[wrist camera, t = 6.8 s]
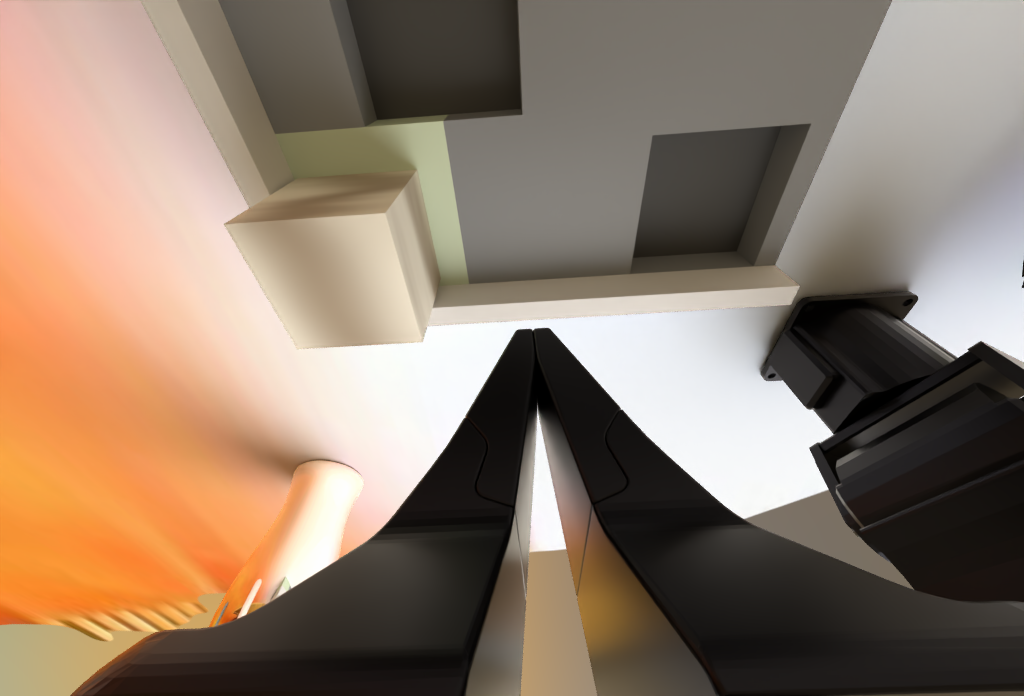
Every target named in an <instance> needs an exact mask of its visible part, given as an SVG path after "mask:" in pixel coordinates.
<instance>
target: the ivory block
mask: <svg viewBox="0 0 1024 696" xmlns="http://www.w3.org/2000/svg"><path fill="white" fill-rule="evenodd" d="M224 225H225V227H226V229H227V230H228V232H229V234H230V236H231V237H232V239H233V241H234V242H235V244H236V246H237V247H238V249H239V251H240V253H241V254H242V256H243V258H244V259H245V261H246V263H247V265H248V266H249V268H250V270H251V271H252V273H253V275H254V276H255V278H256V280H257V282H258V283H259V285H260V287H261V288H262V290H263V292H264V293H265V295H266V297H267V299H268V300H269V302H270V304H271V305H272V307H273V309H274V311H275V312H276V314H277V316H278V317H279V319H280V321H281V322H282V324H283V326H284V328H285V329H286V331H287V333H288V334H289V336H290V338H291V339H292V341H293V343H294V345H295V346H296V348H297V349H309V348H327V347H344V346H362V345H380V344H397V343H415V342H423V339H424V335H425V332H426V329H427V325H428V322H429V318H430V315H431V311H432V308H433V304H434V301H435V297H436V294H437V290H438V287H439V283H440V280H441V277H440V272H439V268H438V263H437V258H436V254H435V249H434V244H433V240H432V235H431V231H430V226H429V221H428V217H427V212H426V207H425V203H424V198H423V193H422V189H421V184H420V179H419V175H418V170H404V171H391V172H377V173H363V174H350V175H336V176H322V177H309V178H297V179H295V180H294V181H292V182H291V183H289V184H287V185H286V186H284V187H283V188H281V189H279V190H278V191H276V192H275V193H273V194H271V195H270V196H268V197H267V198H265V199H263V200H262V201H260V202H259V203H257V204H255V205H254V206H252V207H251V208H249V209H248V210H246V211H244V212H243V213H241V214H240V215H238V216H236V217H235V218H233V219H232V220H230V221H228V222H227V223H225V224H224Z"/></svg>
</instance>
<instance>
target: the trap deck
mask: <svg viewBox="0 0 1024 696" xmlns="http://www.w3.org/2000/svg"><path fill="white" fill-rule="evenodd" d="M140 1H141V3H142V5H143V6H144V8H145V10H146V12H147V14H148V16H149V18H150V20H151V22H152V24H153V25H154V27H155V29H156V31H157V33H158V35H159V37H160V39H161V41H162V43H163V44H164V46H165V48H166V50H167V52H168V54H169V56H170V58H171V60H172V62H173V64H174V65H175V67H176V69H177V71H178V73H179V75H180V77H181V79H182V81H183V83H184V84H185V86H186V88H187V90H188V92H189V94H190V96H191V98H192V100H193V102H194V103H195V105H196V107H197V109H198V111H199V113H200V115H201V117H202V119H203V121H204V123H205V124H206V126H207V128H208V130H209V132H210V134H211V136H212V138H213V140H214V142H215V143H216V145H217V147H218V149H219V151H220V153H221V155H222V157H223V159H224V161H225V162H226V164H227V166H228V168H229V170H230V172H231V174H232V176H233V178H234V180H235V182H236V183H237V185H238V187H239V189H240V191H241V193H242V195H243V197H244V199H245V201H246V202H247V204H248V206H249V208H251V207H252V206H254V205H255V204H257V203H259V202H260V201H262V200H263V199H265V198H267V197H268V196H270V195H271V194H273V193H275V192H276V191H278V190H279V189H281V188H283V187H284V186H286V185H287V184H289V183H291V182H292V181H294V180H295V179H297V178H309V177H322V176H336V175H350V174H363V173H377V172H391V171H404V170H418V175H419V179H420V184H421V189H422V193H423V198H424V203H425V207H426V212H427V217H428V221H429V226H430V231H431V235H432V240H433V244H434V249H435V254H436V258H437V263H438V268H439V272H440V277H441V280H440V283H439V287H438V290H437V294H436V297H435V301H434V304H433V308H432V311H431V315H430V318H429V322H428V325H427V326H437V325H454V324H472V323H489V322H506V321H523V320H540V319H558V318H575V317H592V316H609V315H627V314H644V313H661V312H678V311H696V310H713V309H730V308H747V307H765V306H782V305H791V303H792V301H793V299H794V297H795V295H796V293H797V291H798V289H799V288H800V285H798V284H797V283H796V282H795V281H793V280H792V279H791V278H790V277H789V276H787V275H786V274H785V273H784V272H782V271H781V270H780V269H779V268H778V267H776V266H775V263H776V261H777V259H778V257H779V254H780V252H781V250H782V248H783V245H784V243H785V241H786V239H787V236H788V234H789V232H790V229H791V227H792V225H793V223H794V220H795V218H796V216H797V214H798V211H799V209H800V207H801V205H802V202H803V200H804V198H805V196H806V193H807V191H808V189H809V187H810V184H811V182H812V180H813V178H814V175H815V173H816V171H817V169H818V166H819V164H820V162H821V160H822V157H823V155H824V153H825V151H826V148H827V146H828V144H829V142H830V139H831V137H832V135H833V133H834V130H835V128H836V126H837V123H838V121H839V119H840V117H841V114H842V112H843V110H844V108H845V105H846V103H847V101H848V99H849V96H850V94H851V92H852V90H853V87H854V85H855V83H856V81H857V78H858V76H859V74H860V72H861V69H862V67H863V65H864V63H865V60H866V58H867V56H868V54H869V51H870V49H871V47H872V45H873V42H874V40H875V38H876V36H877V33H878V31H879V29H880V27H881V24H882V22H883V20H884V18H885V15H886V13H887V11H888V8H889V6H890V4H891V2H892V0H140Z"/></svg>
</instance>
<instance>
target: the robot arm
mask: <svg viewBox="0 0 1024 696" xmlns="http://www.w3.org/2000/svg"><path fill="white" fill-rule="evenodd" d="M917 301H918V296H916V295H915V294H913V293H912V292H908V291H906V292H889V293H872V294H855V295H838V296H821V297H808V298H804V299H802V300H801V301H800V302H798V304H797V305H796V307H795V309H794V311H793V313H792V315H791V317H790V318H789V320H788V322H787V324H786V326H785V328H784V330H783V332H782V334H781V335H780V337H779V339H778V341H777V343H776V345H775V347H774V349H773V351H772V353H771V354H770V356H769V358H768V360H767V362H766V364H765V366H764V368H763V370H762V372H761V376H762V377H763V379H764V380H766V381H781V380H783V381H784V382H785V383H786V384H787V386H788V387H789V388H790V389H791V390H792V392H793V393H794V394H795V395H796V397H797V398H798V399H799V400H800V401H801V403H802V404H803V405H804V406H805V407H806V408H807V409H810V410H811V409H813V410H814V411H815V412H816V414H817V415H818V416H819V417H820V418H821V420H822V421H823V422H824V423H825V424H826V426H827V427H828V428H829V429H830V430H831V431H832V433H833V434H834V435H833V436H831V437H829V438H828V439H826V440H824V441H823V442H821V443H816V444H814V445H813V446H811V447H810V448H809V449H810V451H811V453H812V455H813V457H814V459H815V462H816V465H817V467H818V469H819V471H820V473H821V475H822V477H823V479H824V481H825V483H826V485H827V487H828V489H829V491H830V493H831V495H832V497H833V499H834V501H835V503H836V505H837V507H838V509H839V511H840V513H841V515H842V517H843V519H844V521H845V523H846V524H847V525H848V526H849V527H850V528H851V529H852V531H853V532H854V533H855V535H856V536H857V537H859V538H860V539H862V540H863V541H864V542H865V543H866V544H867V545H869V546H870V547H871V548H872V549H873V550H874V551H875V552H876V553H878V554H879V555H880V556H882V557H883V558H885V559H886V560H887V561H889V562H890V563H892V564H893V565H894V566H895V567H896V568H897V569H898V570H899V572H900V573H901V574H902V575H903V576H904V577H905V578H906V580H907V581H908V582H909V583H910V585H911V586H912V587H913V588H914V590H913V589H910V588H907V587H904V586H902V585H899V584H897V583H894V582H891V581H889V580H886V579H884V578H881V577H879V576H876V575H874V574H871V573H869V572H867V571H864V570H862V569H859V568H857V567H855V566H852V565H850V564H847V563H845V562H842V561H840V560H838V559H835V558H833V557H830V556H828V555H825V554H823V553H821V552H818V551H816V550H813V549H811V548H808V547H806V546H804V545H801V544H799V543H796V542H794V541H791V540H789V539H786V538H784V537H781V536H779V535H777V534H774V533H772V532H769V531H767V530H765V529H762V528H760V527H757V526H755V525H753V524H752V523H750V522H748V521H746V520H744V519H743V518H741V517H740V516H738V515H736V514H735V513H733V512H732V511H731V510H729V509H728V508H727V507H725V506H724V505H723V504H722V503H720V502H719V501H718V500H717V499H716V498H715V497H713V496H712V495H711V494H710V493H709V492H708V491H707V490H706V489H704V488H703V487H702V486H701V485H700V484H699V483H698V482H697V481H695V480H694V479H693V478H692V477H691V476H690V475H689V474H688V473H687V472H685V471H684V470H683V469H682V468H681V467H680V466H679V465H678V464H676V463H675V462H674V461H673V460H672V459H671V458H670V457H669V456H668V455H666V454H665V453H664V452H663V451H662V450H661V449H660V448H659V447H658V446H657V445H656V444H655V443H654V442H653V441H651V440H650V439H649V438H648V437H647V436H646V435H645V434H644V433H643V431H642V430H641V429H640V428H639V427H638V426H637V425H636V424H635V423H634V422H633V421H632V420H631V419H630V418H629V417H628V415H627V414H626V413H625V412H624V411H623V410H621V408H620V407H619V405H618V404H617V403H616V402H615V401H614V400H613V399H612V398H611V397H610V395H609V394H608V393H607V392H606V391H605V390H604V389H603V388H602V386H601V385H600V384H599V383H598V382H597V381H596V380H595V379H594V378H593V376H592V375H591V374H590V373H589V372H588V371H587V370H586V369H585V367H584V366H583V365H582V364H581V363H580V362H579V361H578V360H577V359H576V357H575V356H574V355H573V354H572V353H571V352H570V351H569V350H568V348H567V347H566V346H565V345H564V344H563V343H562V342H561V341H560V340H559V338H558V337H557V336H556V335H555V334H554V333H553V332H552V331H551V329H549V328H537V329H534V330H533V331H532V330H531V329H520V330H517V331H516V332H515V333H514V335H513V337H512V338H511V340H510V342H509V343H508V345H507V347H506V348H505V350H504V352H503V354H502V355H501V357H500V359H499V360H498V362H497V364H496V365H495V367H494V369H493V370H492V372H491V374H490V375H489V377H488V379H487V380H486V382H485V384H484V386H483V387H482V389H481V391H480V392H479V394H478V396H477V397H476V399H475V401H474V402H473V404H472V406H471V407H470V409H469V411H468V412H467V414H466V416H465V417H466V418H464V419H463V421H462V422H461V424H460V426H459V427H458V429H457V431H456V432H455V434H454V435H453V437H452V438H451V440H450V442H449V443H448V445H447V446H446V448H445V449H444V450H443V452H442V453H441V454H440V456H439V457H438V459H437V460H436V461H435V463H434V464H433V465H432V467H431V468H430V469H429V470H428V472H427V473H426V474H425V476H424V477H423V478H422V479H421V481H420V482H419V483H418V485H417V486H416V487H415V488H414V490H413V491H412V492H411V494H410V495H409V496H408V497H407V499H406V500H405V501H404V502H403V504H402V505H401V506H400V508H399V509H398V510H397V511H396V513H395V514H394V515H393V516H392V518H391V519H390V520H389V521H388V522H387V523H386V524H385V525H384V526H383V528H382V529H380V530H379V531H378V532H377V533H376V534H375V535H374V536H373V537H371V538H370V539H369V540H368V541H366V542H365V543H363V544H362V545H360V546H359V547H357V548H356V549H354V550H352V551H351V552H349V553H348V554H346V555H344V556H343V557H341V558H339V559H338V560H336V561H335V562H333V563H331V564H330V565H328V566H327V567H325V568H323V569H322V570H320V571H319V572H317V573H315V574H314V575H312V576H311V577H309V578H307V579H306V580H304V581H303V582H301V583H299V584H298V585H296V586H295V587H293V588H291V589H290V590H288V591H286V592H285V593H283V594H282V595H280V596H278V597H277V598H275V599H274V600H272V601H270V602H269V603H267V604H265V605H264V606H262V607H260V608H258V609H256V610H255V611H253V612H251V613H249V614H247V615H244V616H242V617H240V618H237V619H235V620H233V621H230V622H227V623H224V624H221V625H217V626H214V627H208V628H201V629H176V630H165V631H160V632H155V633H153V634H151V635H149V636H147V637H145V638H143V639H142V640H141V641H139V642H138V643H136V644H135V645H133V646H132V647H130V648H129V649H127V650H126V651H125V652H123V653H122V654H120V655H118V656H117V657H116V658H115V659H113V660H112V661H110V662H109V663H108V664H106V665H105V666H104V667H102V668H101V669H99V671H97V672H96V673H95V674H94V675H93V676H91V677H90V678H89V679H88V680H87V681H85V682H84V683H83V684H82V685H81V686H80V687H79V688H78V689H77V690H75V692H73V693H72V694H71V696H520V692H521V676H522V660H523V659H522V658H523V642H524V627H525V611H526V594H527V577H528V560H529V544H530V528H531V512H532V495H533V479H534V462H535V446H536V430H537V406H538V414H539V420H540V424H541V429H542V434H543V439H544V443H545V448H546V453H547V458H548V462H549V467H550V472H551V477H552V481H553V486H554V491H555V496H556V500H557V505H558V510H559V515H560V519H561V524H562V529H563V534H564V539H565V543H566V548H567V553H568V557H569V562H570V567H571V572H572V576H573V581H574V586H575V591H576V595H577V597H578V598H577V601H578V605H579V610H580V615H581V620H582V624H583V629H584V634H585V639H586V643H587V648H588V653H589V658H590V662H591V667H592V672H593V677H594V681H595V686H596V690H597V696H1024V397H1022V396H1024V363H1023V362H1022V361H1020V360H1018V359H1016V358H1014V357H1012V356H1010V355H1008V354H1006V353H1004V352H1002V351H1000V350H998V349H996V348H994V347H992V346H990V345H988V344H986V343H984V342H982V341H980V342H978V343H977V344H975V345H974V346H972V347H970V348H969V349H968V350H969V351H968V352H967V353H965V354H964V355H962V356H960V357H959V358H957V357H956V356H954V355H953V354H951V353H950V352H948V351H947V350H946V349H944V348H943V347H941V346H940V345H938V344H937V343H935V342H934V341H933V340H931V339H930V338H928V337H927V336H925V335H924V334H922V333H921V332H920V331H918V330H917V329H915V328H914V327H912V326H911V325H909V324H908V323H907V322H905V321H904V320H903V319H904V318H905V317H906V315H907V314H908V313H909V311H910V310H911V309H912V308H913V306H914V305H915V304H916V302H917ZM1020 397H1022V398H1020Z"/></svg>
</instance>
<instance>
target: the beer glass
mask: <svg viewBox="0 0 1024 696" xmlns="http://www.w3.org/2000/svg"><path fill="white" fill-rule="evenodd" d="M363 486H364V481H363V478H362V477H361V475H360V474H359V473H358V472H357V471H355V470H354V469H352V468H350V467H348V466H346V465H344V464H341V463H337V462H333V461H325V460H315V461H309V462H305V463H303V464H301V465H299V466H298V467H297V468H296V470H295V472H294V474H293V477H292V481H291V485H290V489H289V492H288V495H287V498H286V501H285V503H284V505H283V507H282V509H281V511H280V513H279V515H278V516H277V518H276V520H275V521H274V523H273V524H272V526H271V527H270V529H269V530H268V532H267V533H266V535H265V536H264V538H263V539H262V540H261V542H260V543H259V545H258V546H257V547H256V549H255V550H254V552H253V553H252V555H251V556H250V557H249V559H248V560H247V562H246V563H245V565H244V566H243V568H242V569H241V571H240V572H239V574H238V575H237V577H236V578H235V580H234V582H233V583H232V585H231V586H230V588H229V589H228V591H227V593H226V595H225V596H224V598H223V600H222V602H221V604H220V606H219V608H218V609H217V611H216V613H215V615H214V617H213V619H212V621H211V623H210V625H209V627H214V626H217V625H221V624H224V623H227V622H230V621H233V620H235V619H237V618H240V617H242V616H244V615H247V614H249V613H251V612H253V611H255V610H256V609H258V608H260V607H262V606H264V605H265V604H267V603H269V602H270V601H272V600H274V599H275V598H277V597H278V596H280V595H282V594H283V593H285V592H286V591H288V590H290V589H291V588H293V587H295V586H296V585H298V584H299V583H301V582H303V581H304V580H306V579H307V578H309V577H311V576H312V575H314V574H315V573H317V572H319V571H320V570H322V569H323V568H325V567H327V566H328V565H330V564H331V563H333V562H335V561H336V560H338V559H339V557H340V550H341V544H342V539H343V533H344V529H345V526H346V522H347V519H348V516H349V514H350V511H351V509H352V507H353V505H354V503H355V502H356V500H357V498H358V496H359V494H360V493H361V491H362V489H363Z"/></svg>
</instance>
